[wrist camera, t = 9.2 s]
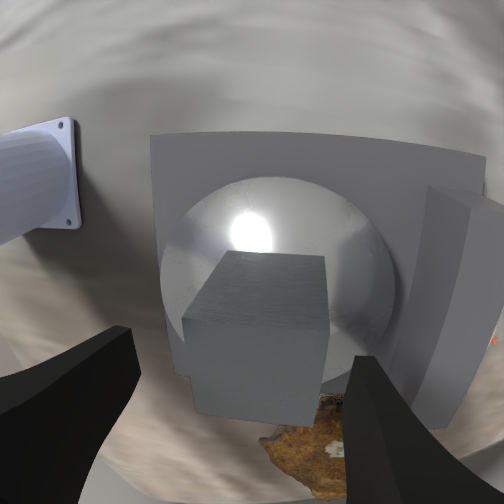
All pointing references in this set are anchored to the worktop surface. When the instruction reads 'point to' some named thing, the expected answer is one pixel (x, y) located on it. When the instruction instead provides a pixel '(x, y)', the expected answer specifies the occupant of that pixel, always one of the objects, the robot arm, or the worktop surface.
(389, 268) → the pan
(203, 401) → the block
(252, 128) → the worktop surface
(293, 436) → the decorative rock
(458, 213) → the scale
